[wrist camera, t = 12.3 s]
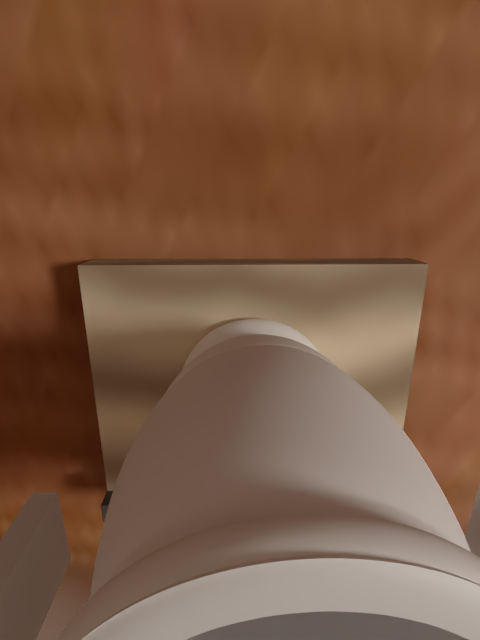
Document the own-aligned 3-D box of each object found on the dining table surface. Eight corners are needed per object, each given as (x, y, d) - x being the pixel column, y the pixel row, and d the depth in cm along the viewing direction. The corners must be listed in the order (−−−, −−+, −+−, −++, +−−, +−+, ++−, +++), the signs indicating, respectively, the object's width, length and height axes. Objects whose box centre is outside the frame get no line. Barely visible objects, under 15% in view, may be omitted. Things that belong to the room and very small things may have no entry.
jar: (366, 432, 22) (616, 853, 8) (206, 486, 23) (169, 954, 9) (312, 268, 19) (564, 467, 5) (130, 338, 20) (-124, 685, 6)
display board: (91, 259, 21) (67, 269, 17) (410, 258, 21) (441, 268, 18) (118, 485, 25) (103, 524, 22) (379, 480, 26) (399, 517, 23)
